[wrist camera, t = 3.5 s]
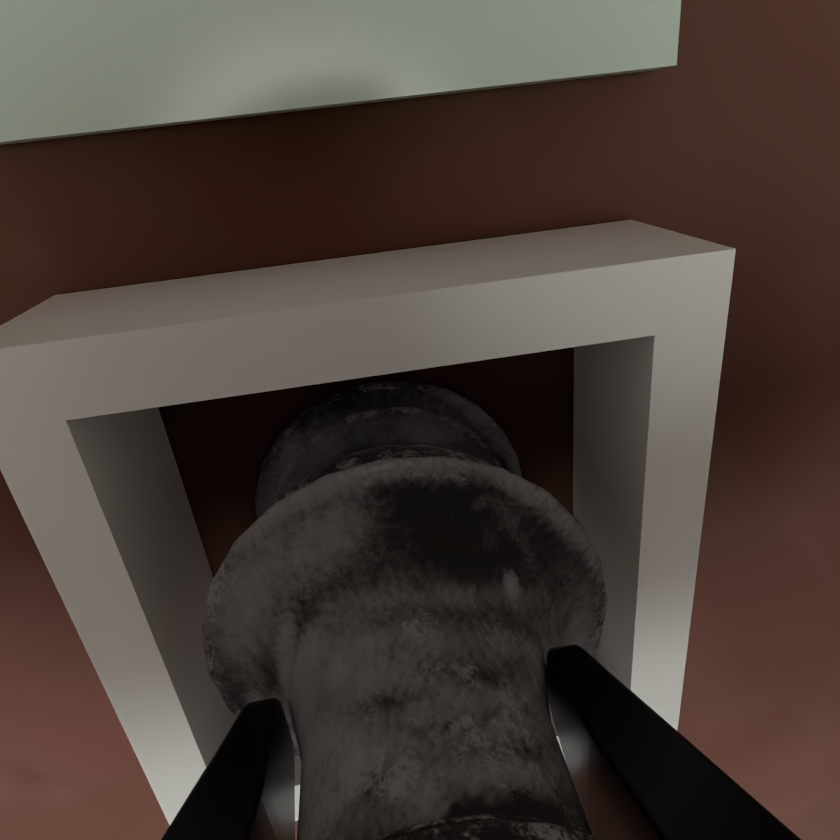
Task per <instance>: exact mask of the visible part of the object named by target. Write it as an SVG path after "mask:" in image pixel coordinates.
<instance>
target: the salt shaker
mask: <svg viewBox="0 0 840 840" xmlns="http://www.w3.org/2000/svg"><path fill="white" fill-rule="evenodd" d="M255 508H256V517H257V520H256V521H255V522H254V523H253V524H252V525H251V526H250V527H249V528H248V529H247V530H246V531H245V532H244V533H243V534H242V535H241V536H240V537H238V538H237V539H236V540H235V541H234V543H233V545H232V547H231V549H230V550H229V552H228V554H227V556H226V557H225V559H224V561H223V563H222V564H221V566H220V568H219V570H218V572H217V573H216V575H215V577H214V579H213V580H212V582H211V584H210V588H209V592H208V598H207V603H206V608H205V614H204V619H203V625H202V630H201V635H202V641H203V647H204V653H205V658H206V664H207V670H208V674H209V676H210V678H211V679H212V681H213V683H214V685H215V686H216V688H217V690H218V692H219V693H220V695H221V697H222V699H223V700H224V702H225V704H226V706H227V707H228V709H229V710H230V711H231V712H232V713H233V714H234V715H235V716H236V717H238V715H239V714H240V712H241V710H242V709H243V707H244V706H245V705H247V704H248V703H250V702H253V701H258V700H264V699H270V698H277V699H279V700H280V702H281V703H282V706H283V710H284V713H285V716H286V720H287V723H288V726H289V730H290V733H291V736H292V740H293V746H294V757H295V758H297V759H299V760H301V780H300V797H299V815H298V832H297V840H600V839H598V838H596V837H595V836H593V835H592V832H591V830H590V827H589V824H588V821H587V819H586V816H585V813H584V811H583V808H582V805H581V802H580V800H579V797H578V794H577V791H576V789H575V786H574V783H573V781H572V778H571V775H570V772H569V770H568V767H567V764H566V761H565V759H564V756H563V753H562V751H561V748H560V745H559V742H558V740H557V737H556V734H555V731H554V729H553V726H552V723H551V718H550V713H551V710H550V705H549V700H548V684H547V653H548V651H549V650H550V649H551V648H555V647H561V646H567V645H574V644H575V645H578V646H580V647H582V648H583V649H584V650H585V651H587V652H588V653H589V654H590V655H591V656H593V654H594V652H595V651H596V649H597V647H598V645H599V643H600V640H601V634H602V629H603V624H604V619H605V614H606V608H607V603H608V602H607V595H606V587H605V580H604V573H603V566H602V562H601V560H600V558H599V556H598V554H597V552H596V551H595V549H594V547H593V545H592V543H591V541H590V539H589V537H588V535H587V533H586V532H585V530H584V528H583V526H582V524H581V523H580V521H579V520H578V519H577V518H575V517H574V516H573V515H572V514H571V513H570V512H569V511H568V510H567V509H566V508H565V507H564V506H563V505H562V504H561V503H560V502H558V501H557V500H556V499H555V498H554V497H553V496H552V495H551V494H550V493H549V492H548V491H547V490H545V489H543V488H541V487H539V486H537V485H535V484H533V483H531V482H529V481H527V480H525V479H523V478H522V474H521V469H520V464H519V459H518V456H517V455H516V453H515V451H514V449H513V447H512V445H511V444H510V442H509V440H508V438H507V436H506V435H505V433H504V431H503V429H502V428H501V427H500V426H499V425H498V424H497V423H496V422H495V421H494V420H493V419H492V418H491V417H490V416H489V415H488V414H487V413H486V412H485V411H484V410H483V409H482V408H481V407H480V406H479V405H477V404H475V403H473V402H471V401H469V400H468V399H466V398H464V397H462V396H460V395H458V394H456V393H454V392H452V391H450V390H449V389H446V388H441V387H437V386H433V385H428V384H424V383H419V382H415V381H381V382H370V383H367V384H363V385H360V386H356V387H352V388H349V389H345V390H342V391H338V392H335V393H333V394H332V395H330V396H328V397H326V398H325V399H323V400H321V401H320V402H318V403H316V404H314V405H313V406H311V407H309V408H307V409H306V410H304V411H303V412H302V413H301V414H300V415H299V416H298V417H297V418H296V419H295V420H294V421H293V422H292V423H291V424H290V425H289V426H288V427H287V428H286V429H285V430H283V431H282V432H281V433H280V434H279V435H278V437H277V439H276V441H275V442H274V444H273V446H272V448H271V450H270V451H269V453H268V455H267V457H266V459H265V460H264V462H263V464H262V466H261V471H260V476H259V481H258V485H257V490H256V495H255Z"/></svg>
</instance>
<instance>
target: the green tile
mask: <svg viewBox="0 0 840 840" xmlns="http://www.w3.org/2000/svg"><path fill="white" fill-rule="evenodd" d="M680 12H681V0H0V145H4V144H13V143H22V142H31V141H39V140H48V139H57V138H66V137H74V136H83V135H92V134H101V133H110V132H118V131H127V130H136V129H145V128H153V127H162V126H171V125H180V124H189V123H197V122H206V121H215V120H224V119H232V118H241V117H250V116H259V115H268V114H276V113H285V112H294V111H303V110H311V109H320V108H329V107H338V106H347V105H355V104H364V103H373V102H382V101H390V100H399V99H408V98H417V97H426V96H434V95H443V94H452V93H461V92H469V91H478V90H487V89H496V88H505V87H513V86H522V85H531V84H540V83H548V82H557V81H566V80H575V79H584V78H592V77H601V76H610V75H619V74H627V73H636V72H645V71H652V70H657V69H662V68H666V67H671V66H676V65H677V54H678V40H679V26H680Z"/></svg>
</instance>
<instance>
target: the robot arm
mask: <svg viewBox="0 0 840 840" xmlns="http://www.w3.org/2000/svg"><path fill="white" fill-rule="evenodd" d="M547 684H548V700H549V705H550V710H551V713H552V717H553V720H554V723H555V727H556V730H557V734H558V737H559V741H560V744H561V747H562V751H563V754H564V758H565V761H566V764H567V767H568V770H569V772H570V775H571V778H572V781H573V783H574V786H575V789H576V791H577V794H578V797H579V800H580V802H581V805H582V808H583V811H584V813H585V816H586V819H587V821H588V824H589V827H590V830H591V832H592V835H593V836H595V837H596V838H598V839H600V840H801V839H800V838H799V837H797V836H796V835H795V834H794V833H793V832H792V831H791V830H789V829H788V828H787V827H786V826H785V825H784V824H783V823H781V822H780V821H779V820H778V819H777V818H776V817H775V816H773V815H772V814H771V813H770V812H769V811H768V810H767V809H765V808H764V807H763V806H762V805H761V804H760V803H759V802H758V801H756V800H755V799H754V798H753V797H752V796H751V795H750V794H748V793H747V792H746V791H745V790H744V789H743V788H742V787H740V786H739V785H738V784H737V783H736V782H735V781H734V780H732V779H731V778H730V777H729V776H728V775H727V774H726V773H724V772H723V771H722V770H721V769H720V768H719V767H718V766H716V765H715V764H714V763H713V762H712V761H711V760H710V759H709V758H707V757H706V756H705V755H704V754H703V753H702V752H701V751H699V750H698V749H697V748H696V747H695V746H694V745H693V744H691V743H690V742H689V741H688V740H687V739H686V738H685V737H683V736H682V735H681V734H680V733H679V732H678V731H677V730H675V729H674V728H673V727H672V726H671V725H670V724H669V723H668V722H666V721H665V720H664V719H663V718H662V717H661V716H660V715H658V714H657V713H656V712H655V711H654V710H653V709H652V708H650V707H649V706H648V705H647V704H646V703H645V702H644V701H642V700H641V699H640V698H639V697H638V696H637V695H636V694H634V693H633V692H632V691H631V690H630V689H629V688H628V687H626V686H625V685H624V684H623V683H622V682H621V681H620V680H619V679H617V678H616V677H615V676H614V675H613V674H612V673H611V672H609V671H608V670H607V669H606V668H605V667H604V666H603V665H601V664H600V663H599V662H598V661H597V660H596V659H595V658H593V657H592V656H591V655H590V654H589V653H588V652H587V651H585V650H584V649H583V648H582V647H580V646H578V645H575V644H574V645H567V646H561V647H555V648H551V649H550V650H549V651H548V653H547ZM161 840H295V761H294V746H293V740H292V736H291V733H290V730H289V726H288V723H287V720H286V716H285V713H284V710H283V706H282V703H281V702H280V700H279V699H277V698H270V699H264V700H258V701H253V702H250V703H248V704H247V705H245V706H244V707H243V709H242V710H241V712H240V714H239V715H238V717H237V718H236V720H235V722H234V723H233V725H232V727H231V728H230V730H229V731H228V733H227V735H226V736H225V738H224V739H223V741H222V743H221V744H220V746H219V747H218V749H217V751H216V752H215V754H214V755H213V757H212V759H211V760H210V762H209V764H208V765H207V767H206V768H205V770H204V772H203V773H202V775H201V776H200V778H199V780H198V781H197V783H196V784H195V786H194V788H193V789H192V791H191V792H190V794H189V796H188V797H187V799H186V801H185V802H184V804H183V805H182V807H181V809H180V810H179V812H178V813H177V815H176V817H175V818H174V820H173V821H172V823H171V825H170V826H169V828H168V829H167V831H166V833H165V834H164V836H163V838H162V839H161Z"/></svg>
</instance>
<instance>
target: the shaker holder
mask: <svg viewBox="0 0 840 840" xmlns="http://www.w3.org/2000/svg"><path fill="white" fill-rule="evenodd" d="M735 252H736V249H735V248H731V247H728V246H724V245H721V244H717V243H714V242H710V241H706V240H703V239H699V238H696V237H692V236H688V235H685V234H681V233H678V232H674V231H671V230H667V229H663V228H660V227H656V226H653V225H649V224H645V223H642V222H638V221H635V220H624V221H617V222H609V223H601V224H594V225H586V226H579V227H571V228H563V229H556V230H548V231H540V232H533V233H525V234H517V235H510V236H502V237H494V238H487V239H479V240H472V241H464V242H456V243H449V244H441V245H433V246H426V247H418V248H410V249H403V250H395V251H387V252H380V253H372V254H364V255H357V256H349V257H342V258H334V259H326V260H319V261H311V262H303V263H296V264H288V265H280V266H273V267H265V268H257V269H250V270H242V271H235V272H227V273H219V274H212V275H204V276H196V277H189V278H181V279H173V280H166V281H158V282H150V283H143V284H135V285H128V286H120V287H112V288H105V289H97V290H89V291H82V292H74V293H66V294H59V295H54V296H52V297H51V298H49V299H47V300H45V301H44V302H42V303H40V304H38V305H36V306H35V307H33V308H31V309H29V310H27V311H26V312H24V313H22V314H20V315H18V316H17V317H15V318H13V319H11V320H10V321H8V322H6V323H4V324H2V325H1V326H0V470H1V473H2V475H3V477H4V479H5V481H6V483H7V485H8V487H9V489H10V491H11V493H12V496H13V498H14V500H15V502H16V504H17V506H18V508H19V510H20V512H21V514H22V517H23V519H24V521H25V523H26V525H27V527H28V529H29V531H30V533H31V535H32V538H33V540H34V542H35V544H36V546H37V548H38V550H39V552H40V554H41V556H42V559H43V561H44V563H45V565H46V567H47V569H48V571H49V573H50V575H51V577H52V580H53V582H54V584H55V586H56V588H57V590H58V592H59V594H60V596H61V598H62V601H63V603H64V605H65V607H66V609H67V611H68V613H69V615H70V617H71V619H72V622H73V624H74V626H75V628H76V630H77V632H78V634H79V636H80V638H81V640H82V643H83V645H84V647H85V649H86V651H87V653H88V655H89V657H90V659H91V661H92V664H93V666H94V668H95V670H96V672H97V674H98V676H99V678H100V680H101V682H102V685H103V687H104V689H105V691H106V693H107V695H108V697H109V699H110V701H111V703H112V706H113V708H114V710H115V712H116V714H117V716H118V718H119V720H120V722H121V724H122V727H123V729H124V731H125V733H126V735H127V737H128V739H129V741H130V743H131V745H132V747H133V750H134V752H135V754H136V756H137V758H138V760H139V762H140V764H141V766H142V768H143V771H144V773H145V775H146V777H147V779H148V781H149V783H150V785H151V787H152V789H153V792H154V794H155V796H156V798H157V800H158V802H159V804H160V806H161V808H162V810H163V813H164V815H165V817H166V819H167V821H168V823H169V825H171V823H172V821H173V820H174V818H175V817H176V815H177V813H178V812H179V810H180V809H181V807H182V805H183V804H184V802H185V801H186V799H187V797H188V796H189V794H190V792H191V791H192V789H193V788H194V786H195V784H196V783H197V781H198V780H199V778H200V776H201V775H202V773H203V772H204V770H205V768H206V767H207V765H208V764H209V762H210V760H211V759H212V757H213V755H214V754H215V752H216V751H217V749H218V747H219V746H220V744H221V743H222V741H223V739H224V738H225V736H226V735H227V733H228V731H229V730H230V728H231V727H232V725H233V723H234V722H235V720H236V718H237V717H236V716H235V715H234V714H233V713H232V712H231V711H230V710H229V709H228V707H227V706H226V704H225V702H224V700H223V699H222V697H221V695H220V693H219V692H218V690H217V688H216V686H215V685H214V683H213V681H212V679H211V678H210V676H209V674H208V670H207V664H206V658H205V653H204V647H203V641H202V635H201V630H202V625H203V619H204V614H205V608H206V603H207V598H208V592H209V588H210V584H211V582H212V580H213V579H214V577H213V574H212V571H211V568H210V565H209V562H208V559H207V556H206V553H205V550H204V547H203V543H202V540H201V537H200V534H199V531H198V528H197V525H196V522H195V519H194V516H193V513H192V510H191V507H190V504H189V501H188V497H187V494H186V491H185V488H184V485H183V482H182V479H181V476H180V473H179V470H178V467H177V464H176V461H175V458H174V455H173V451H172V448H171V445H170V442H169V439H168V436H167V433H166V430H165V427H164V424H163V421H162V418H161V415H160V412H159V409H158V407H163V406H170V405H177V404H184V403H190V402H197V401H204V400H211V399H218V398H225V397H232V396H239V395H246V394H253V393H260V392H267V391H273V390H280V389H287V388H294V387H301V386H308V385H315V384H322V383H329V382H336V381H343V380H350V379H356V378H363V377H370V376H377V375H384V374H391V373H398V372H405V371H412V370H419V369H426V368H433V367H439V366H446V365H453V364H460V363H467V362H474V361H481V360H488V359H495V358H502V357H509V356H516V355H522V354H529V353H536V352H543V351H550V350H557V349H564V348H571V347H574V408H573V516H574V517H575V518H577V519H578V520H579V521H580V523H581V524H582V526H583V528H584V530H585V532H586V533H587V535H588V537H589V539H590V541H591V543H592V545H593V547H594V549H595V551H596V552H597V554H598V556H599V558H600V560H601V562H602V566H603V573H604V580H605V587H606V595H607V602H608V603H607V608H606V614H605V619H604V624H603V629H602V634H601V640H600V643H599V645H598V647H597V649H596V651H595V652H594V654H593V656H592V657H593V658H595V659H596V660H597V661H598V662H599V663H600V664H601V665H603V666H604V667H605V668H606V669H607V670H608V671H609V672H611V673H612V674H613V675H614V676H615V677H616V678H617V679H619V680H620V681H621V682H622V683H623V684H624V685H625V686H626V687H628V688H629V689H630V690H631V691H632V692H633V693H634V694H636V695H637V696H638V697H639V698H640V699H641V700H642V701H644V702H645V703H646V704H647V705H648V706H649V707H650V708H652V709H653V710H654V711H655V712H656V713H657V714H658V715H660V716H661V717H662V718H663V719H664V720H665V721H666V722H668V723H669V724H670V725H671V726H672V727H673V728H674V729H675V730H677V729H678V721H679V713H680V705H681V696H682V688H683V680H684V672H685V664H686V655H687V647H688V639H689V631H690V622H691V614H692V606H693V598H694V589H695V581H696V573H697V565H698V557H699V548H700V540H701V532H702V524H703V515H704V507H705V499H706V491H707V482H708V474H709V466H710V458H711V450H712V441H713V433H714V425H715V417H716V408H717V400H718V392H719V384H720V375H721V367H722V359H723V351H724V343H725V334H726V326H727V318H728V310H729V301H730V293H731V285H732V277H733V268H734V260H735ZM550 718H551V723H552V726H553V729H554V731H555V734H556V737H557V740H558V742H559V745H560V748H561V751H562V747H561V744H560V741H559V737H558V734H557V730H556V727H555V723H554V720H553V717H552V713H550ZM562 753H563V751H562ZM563 756H564V754H563ZM564 759H565V758H564ZM294 761H295V821H298V815H299V797H300V780H301V760H299V759H297V758H295V757H294Z"/></svg>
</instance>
